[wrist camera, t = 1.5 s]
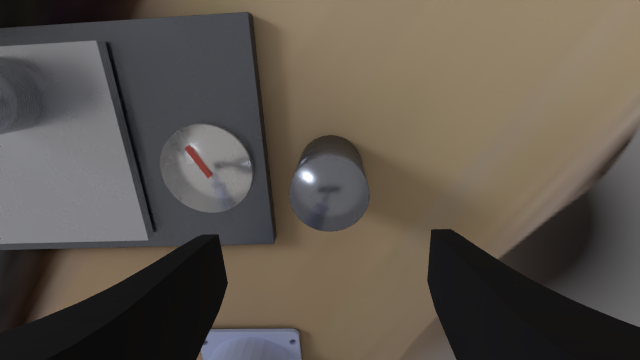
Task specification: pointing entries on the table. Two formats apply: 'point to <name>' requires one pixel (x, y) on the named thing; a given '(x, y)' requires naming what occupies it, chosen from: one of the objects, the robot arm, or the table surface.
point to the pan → (71, 154)
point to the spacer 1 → (17, 98)
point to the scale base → (184, 123)
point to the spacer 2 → (329, 185)
